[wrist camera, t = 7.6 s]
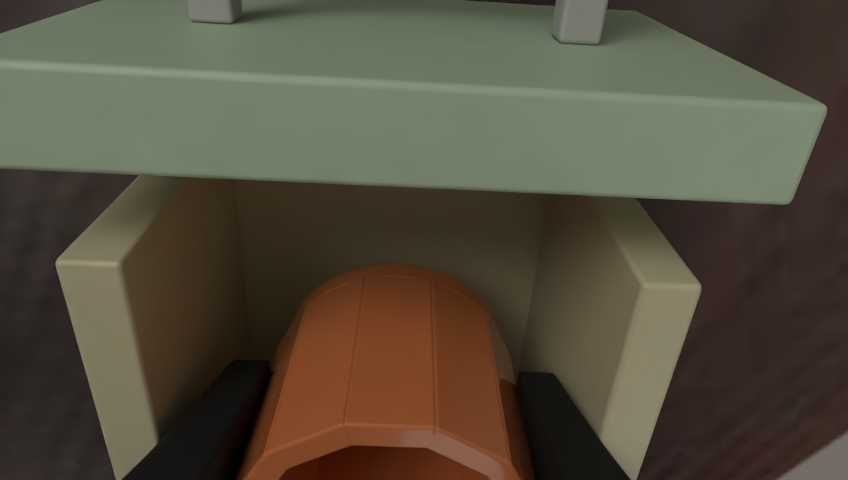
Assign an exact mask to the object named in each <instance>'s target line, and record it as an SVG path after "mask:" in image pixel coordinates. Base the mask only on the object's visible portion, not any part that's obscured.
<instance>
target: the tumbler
mask: <svg viewBox="0 0 848 480" xmlns="http://www.w3.org/2000/svg"><path fill="white" fill-rule="evenodd" d="M235 480H535V476H534V471H533V466H532V461H531V456H530V451H529V446H528V441H527V436H526V431H525V426H524V421H523V416H522V411H521V407H520V402H519V397H518V392H517V387H516V382H515V377H514V372H513V367H512V362H511V357H510V353H509V351H508V349H507V347H506V346H505V344H504V339H503V336H502V332H501V328H500V326H499V324H498V321H497V319H496V317H495V316H494V314H493V313H492V311H491V309H490V308H489V306H488V305H487V304H486V303H485V302H484V301H483V300H482V299H481V297H480V296H478V295H477V294H476V293H475V292H474V291H473V290H471V289H470V288H469V287H467V286H466V285H464V284H463V283H461V282H460V281H458V280H457V279H455V278H453V277H450V276H448V275H446V274H444V273H442V272H439V271H436V270H433V269H430V268H426V267H421V266H417V265H409V264H400V263H393V264H376V265H368V266H364V267H360V268H356V269H352V270H349V271H347V272H344V273H341V274H339V275H337V276H335V277H333V278H331V279H329V280H327V281H326V282H324V283H323V284H322V285H320V286H319V287H317V288H316V289H314V290H313V291H312V292H311V293H310V294H309V295H308V296H307V297H306V298H305V299H304V300H303V301H302V303H301V304H300V305H299V306H298V308H297V309H296V311H295V313H294V314H293V316H292V318H291V320H290V323H289V325H288V328H287V331H286V334H285V335H284V336H283V338H282V339H281V341H280V342H279V344H278V347H277V350H276V353H275V357H274V360H273V363H272V366H271V369H270V375H269V378H268V381H267V384H266V387H265V390H264V393H263V396H262V400H261V403H260V406H259V409H258V412H257V415H256V418H255V420H254V423H253V426H252V428H251V431H250V434H249V437H248V440H247V443H246V446H245V449H244V452H243V455H242V459H241V462H240V465H239V468H238V471H237V474H236V477H235Z"/></svg>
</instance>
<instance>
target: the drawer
mask: <svg viewBox="0 0 848 480" xmlns="http://www.w3.org/2000/svg"><path fill="white" fill-rule="evenodd" d="M608 1H609V0H556V4H555V6H546V5H530V4H513V3H497V2H481V1H464V0H102V1H98V2H95V3H92V4H89V5H86V6H83V7H80V8H77V9H74V10H71V11H68V12H65V13H62V14H59V15H56V16H53V17H49V18H46V19H43V20H40V21H37V22H34V23H31V24H28V25H25V26H22V27H19V28H16V29H13V30H10V31H7V32H4V33H0V169H21V170H43V171H65V172H86V173H108V174H130V175H139V176H138V177H137V178H136V179H135V180H134V181H133V182H132V183H131V184H130V185H129V186H128V187H127V188H126V189H125V190H124V191H123V192H122V193H121V194H120V195H119V196H118V197H117V198H116V199H115V200H114V201H113V203H112V204H111V205H110V206H109V207H108V208H107V209H106V210H105V211H104V212H103V213H102V214H101V215H100V216H99V217H98V218H97V219H96V220H95V221H94V222H93V223H92V224H91V225H90V226H89V227H88V228H87V229H86V230H85V231H84V232H83V233H82V234H81V235H80V236H79V237H78V238H77V239H76V240H75V241H74V242H73V243H72V244H71V245H70V246H69V247H68V248H67V249H66V250H65V251H64V252H63V253H62V254H61V255H60V256H59V257H58V258H57V260H56V269H57V272H58V276H59V279H60V283H61V286H62V290H63V293H64V297H65V300H66V304H67V308H68V311H69V315H70V318H71V322H72V325H73V329H74V332H75V336H76V339H77V343H78V346H79V350H80V354H81V357H82V361H83V364H84V368H85V371H86V375H87V378H88V382H89V385H90V389H91V392H92V396H93V400H94V403H95V407H96V410H97V414H98V417H99V421H100V424H101V428H102V431H103V435H104V438H105V442H106V446H107V449H108V453H109V456H110V460H111V463H112V467H113V470H114V474H115V477H116V480H121V479H122V478H123V477H124V476H125V475H127V474H128V473H129V472H130V471H131V470H132V469H133V468H134V467H135V466H136V465H137V464H138V463H139V462H140V461H141V460H142V459H143V458H144V457H145V456H146V455H147V454H148V453H149V452H150V451H151V450H152V449H153V448H154V447H155V446H156V445H157V444H158V443H159V442H160V440H161V439H162V438H163V437H164V436H165V435H166V434H167V433H168V432H169V431H170V430H171V429H172V428H173V427H174V426H175V425H176V423H177V422H178V421H179V420H180V419H181V418H182V417H183V416H184V415H185V414H186V413H187V412H188V410H189V409H190V408H191V407H192V406H193V405H194V404H195V403H196V401H197V400H198V399H199V398H200V397H201V396H202V395H203V393H204V392H205V391H206V390H207V389H208V388H209V387H210V385H211V384H212V383H213V382H214V381H215V380H216V378H217V377H218V376H219V375H220V374H221V372H222V371H223V370H224V369H225V368H226V367H227V365H228V364H229V363H231V362H232V361H233V360H234V359H242V360H265V361H269V365H270V369H271V366H272V363H273V360H274V357H275V353H276V350H277V347H278V344H279V342H280V341H281V339H282V338H283V336H284V335H285V334H286V331H287V328H288V325H289V323H290V320H291V318H292V316H293V314H294V313H295V311H296V309H297V308H298V306H299V305H300V304H301V303H302V301H303V300H304V299H305V298H306V297H307V296H308V295H309V294H310V293H311V292H312V291H313V290H314V289H316V288H317V287H319V286H320V285H322V284H323V283H324V282H326V281H327V280H329V279H331V278H333V277H335V276H337V275H339V274H341V273H344V272H347V271H349V270H352V269H356V268H360V267H364V266H368V265H376V264H393V263H400V264H409V265H417V266H421V267H426V268H430V269H433V270H436V271H439V272H442V273H444V274H446V275H448V276H450V277H453V278H455V279H457V280H458V281H460V282H461V283H463V284H464V285H466V286H467V287H469V288H470V289H471V290H473V291H474V292H475V293H476V294H477V295H478V296H480V297H481V299H482V300H483V301H484V302H485V303H486V304H487V305H488V306H489V308H490V309H491V311H492V313H493V314H494V316H495V317H496V319H497V321H498V324H499V326H500V328H501V332H502V336H503V339H504V344H505V346H506V347H507V349H508V351H509V353H510V357H511V362H512V367H513V372H514V377H515V382H516V384H517V379H518V373H519V371H522V372H545V373H553V374H554V375H555V376H556V377H557V378H558V380H559V381H560V383H561V384H562V386H563V387H564V389H565V390H566V392H567V393H568V395H569V396H570V398H571V399H572V401H573V402H574V404H575V405H576V407H577V408H578V409H579V411H580V412H581V414H582V415H583V417H584V418H585V419H586V421H587V422H588V424H589V425H590V426H591V428H592V429H593V431H594V432H595V433H596V435H597V436H598V438H599V439H600V440H601V442H602V443H603V444H604V446H605V447H606V448H607V450H608V451H609V452H610V454H611V455H612V456H613V457H614V459H615V460H616V461H617V463H618V464H619V465H620V466H621V468H622V469H623V470H624V472H625V473H626V474H627V476H628V477H629V478H630V479H631V480H637V477H638V474H639V471H640V468H641V465H642V462H643V459H644V456H645V453H646V450H647V448H648V445H649V442H650V439H651V436H652V433H653V430H654V427H655V424H656V421H657V418H658V416H659V413H660V410H661V407H662V404H663V401H664V398H665V395H666V392H667V389H668V387H669V384H670V381H671V378H672V375H673V372H674V369H675V366H676V363H677V360H678V357H679V355H680V352H681V349H682V346H683V343H684V340H685V337H686V334H687V331H688V328H689V325H690V323H691V320H692V317H693V314H694V311H695V308H696V305H697V302H698V299H699V296H700V293H701V284H700V283H699V281H698V280H697V279H696V278H695V276H694V275H693V274H692V272H691V271H690V270H689V268H688V267H687V266H686V264H685V263H684V262H683V260H682V259H681V258H680V256H679V255H678V254H677V252H676V251H675V250H674V248H673V247H672V246H671V244H670V243H669V242H668V240H667V239H666V238H665V236H664V235H663V234H662V233H661V231H660V230H659V229H658V227H657V226H656V225H655V223H654V222H653V221H652V219H651V218H650V217H649V215H648V214H647V213H646V211H645V210H644V209H643V207H642V206H641V205H640V203H639V202H638V201H637V199H636V198H650V199H672V200H693V201H715V202H737V203H758V204H780V205H785V204H789V203H790V202H791V201H792V199H793V197H794V194H795V192H796V189H797V187H798V184H799V182H800V179H801V177H802V174H803V172H804V169H805V167H806V164H807V162H808V159H809V157H810V154H811V152H812V149H813V147H814V144H815V142H816V139H817V137H818V134H819V132H820V129H821V127H822V124H823V121H824V119H825V116H826V114H827V107H826V106H825V105H824V104H822V103H820V102H818V101H816V100H814V99H812V98H810V97H808V96H806V95H804V94H802V93H800V92H798V91H796V90H794V89H792V88H790V87H788V86H786V85H784V84H782V83H780V82H778V81H776V80H774V79H772V78H770V77H768V76H766V75H764V74H762V73H760V72H758V71H756V70H754V69H752V68H750V67H748V66H746V65H744V64H742V63H740V62H738V61H736V60H733V59H731V58H729V57H727V56H725V55H723V54H721V53H719V52H717V51H715V50H713V49H711V48H709V47H707V46H705V45H703V44H701V43H699V42H697V41H695V40H693V39H691V38H689V37H687V36H685V35H683V34H681V33H679V32H677V31H675V30H673V29H671V28H669V27H667V26H665V25H663V24H661V23H659V22H657V21H655V20H653V19H651V18H648V17H646V16H644V15H642V14H640V13H638V12H636V11H628V10H612V9H607V6H608Z"/></svg>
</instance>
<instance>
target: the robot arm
mask: <svg viewBox="0 0 848 480" xmlns="http://www.w3.org/2000/svg"><path fill="white" fill-rule="evenodd" d="M269 375H270V365H269V361H265V360H242V359H234V360H233V361H232V362H231V363H229V364H228V365H227V367H226V368H225V369H224V370H223V371H222V372H221V374H220V375H219V376H218V377H217V378H216V380H215V381H214V382H213V383H212V384H211V385H210V387H209V388H208V389H207V390H206V391H205V392H204V393H203V395H202V396H201V397H200V398H199V399H198V400H197V401H196V403H195V404H194V405H193V406H192V407H191V408H190V409H189V410H188V412H187V413H186V414H185V415H184V416H183V417H182V418H181V419H180V420H179V421H178V422H177V423H176V425H175V426H174V427H173V428H172V429H171V430H170V431H169V432H168V433H167V434H166V435H165V436H164V437H163V438H162V439H161V440H160V442H159V443H158V444H157V445H156V446H155V447H154V448H153V449H152V450H151V451H150V452H149V453H148V454H147V455H146V456H145V457H144V458H143V459H142V460H141V461H140V462H139V463H138V464H137V465H136V466H135V467H134V468H133V469H132V470H131V471H130V472H129V473H128V474H127V475H125V476H124V477H123V478H122V479H121V480H235V477H236V474H237V471H238V468H239V465H240V462H241V459H242V455H243V452H244V449H245V446H246V443H247V440H248V437H249V434H250V431H251V428H252V426H253V423H254V420H255V418H256V415H257V412H258V409H259V406H260V403H261V400H262V396H263V393H264V390H265V387H266V384H267V381H268V378H269ZM516 387H517V392H518V397H519V402H520V407H521V411H522V416H523V421H524V426H525V431H526V436H527V441H528V446H529V451H530V456H531V461H532V466H533V471H534V476H535V480H631V479H630V478H629V477H628V476H627V474H626V473H625V472H624V470H623V469H622V468H621V466H620V465H619V464H618V463H617V461H616V460H615V459H614V457H613V456H612V455H611V454H610V452H609V451H608V450H607V448H606V447H605V446H604V444H603V443H602V442H601V440H600V439H599V438H598V436H597V435H596V433H595V432H594V431H593V429H592V428H591V426H590V425H589V424H588V422H587V421H586V419H585V418H584V417H583V415H582V414H581V412H580V411H579V409H578V408H577V407H576V405H575V404H574V402H573V401H572V399H571V398H570V396H569V395H568V393H567V392H566V390H565V389H564V387H563V386H562V384H561V383H560V381H559V380H558V378H557V377H556V376H555V375H554V374H553V373H545V372H522V371H519V373H518V379H517V384H516Z"/></svg>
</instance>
